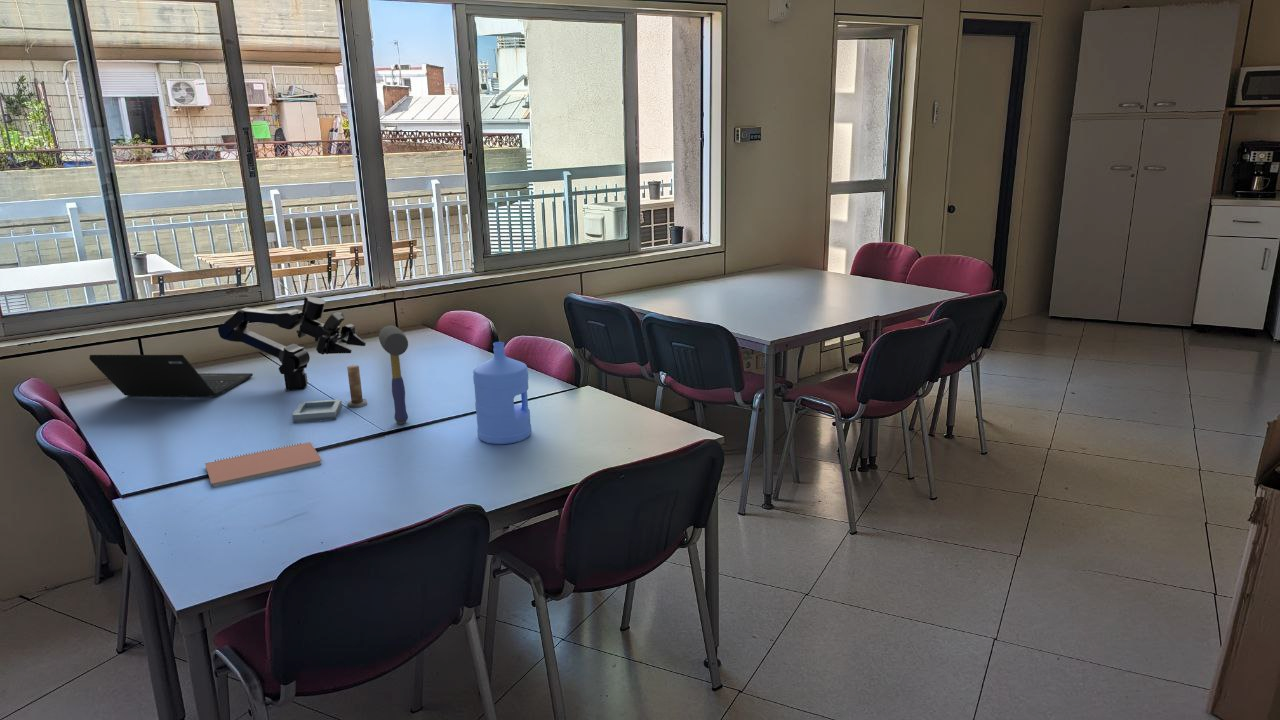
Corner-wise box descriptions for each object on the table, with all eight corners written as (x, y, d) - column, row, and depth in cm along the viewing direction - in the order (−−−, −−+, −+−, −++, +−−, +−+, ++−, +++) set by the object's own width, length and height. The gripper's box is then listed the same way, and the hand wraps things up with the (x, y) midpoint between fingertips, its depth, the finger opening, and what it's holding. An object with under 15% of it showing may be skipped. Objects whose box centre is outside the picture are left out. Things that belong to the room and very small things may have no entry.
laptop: (254, 378, 308) (247, 326, 303) (192, 412, 272) (182, 355, 267) (169, 376, 311) (160, 326, 306) (97, 411, 275) (85, 354, 270)
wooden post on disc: (346, 408, 272) (341, 370, 269) (349, 402, 278) (344, 364, 274) (365, 407, 273) (361, 368, 270) (368, 401, 279) (363, 363, 275)
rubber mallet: (386, 418, 262) (375, 325, 254) (410, 414, 265) (401, 322, 257) (392, 431, 251) (382, 334, 243) (418, 427, 254) (408, 331, 246)
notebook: (310, 446, 242) (309, 439, 241) (322, 465, 228) (321, 459, 228) (205, 467, 228) (204, 460, 228) (212, 489, 215) (211, 482, 214)
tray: (293, 422, 260) (292, 415, 259) (301, 409, 272) (300, 402, 271) (335, 419, 262) (334, 411, 262) (342, 406, 274) (341, 399, 273)
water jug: (480, 448, 237) (473, 352, 229) (475, 429, 252) (468, 339, 244) (535, 441, 241) (530, 347, 233) (527, 423, 256) (522, 334, 248)
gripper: (306, 315, 275) (349, 333, 273) (337, 303, 292) (377, 320, 291) (299, 345, 278) (341, 363, 277) (330, 331, 296) (370, 349, 295)
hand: (358, 348), depth 285 cm, fingers open, 9 cm apart
